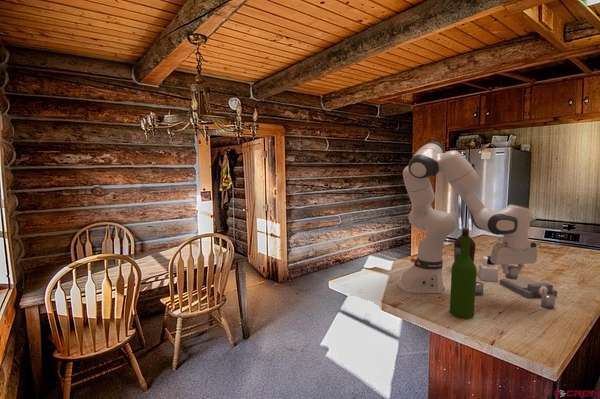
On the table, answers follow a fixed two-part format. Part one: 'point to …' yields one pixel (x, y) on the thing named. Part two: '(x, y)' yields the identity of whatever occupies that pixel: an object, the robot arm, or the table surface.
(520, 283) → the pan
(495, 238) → the table surface
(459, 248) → the olive oil
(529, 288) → the scale
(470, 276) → the wine bottle
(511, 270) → the cylinder
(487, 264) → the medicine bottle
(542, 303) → the cylinder
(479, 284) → the cylinder
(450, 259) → the table surface
